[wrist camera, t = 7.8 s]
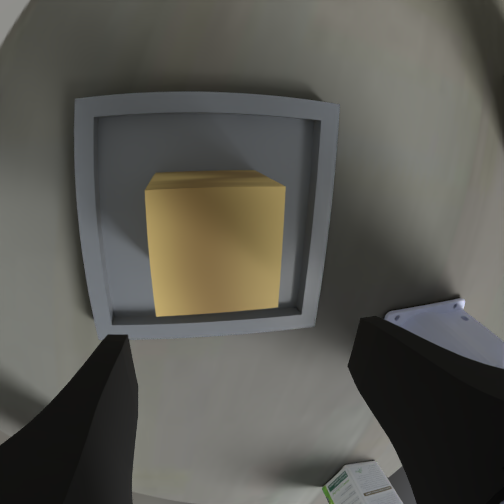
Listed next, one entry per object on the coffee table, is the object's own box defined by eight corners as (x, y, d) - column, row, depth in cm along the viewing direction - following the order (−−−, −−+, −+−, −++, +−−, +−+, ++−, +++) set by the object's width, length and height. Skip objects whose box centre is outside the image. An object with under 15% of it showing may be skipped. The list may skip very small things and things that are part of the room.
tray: (327, 105, 16) (339, 104, 15) (306, 314, 21) (314, 326, 19) (83, 101, 13) (74, 98, 12) (103, 325, 18) (98, 339, 17)
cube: (254, 170, 16) (285, 186, 12) (252, 261, 18) (277, 307, 13) (155, 172, 15) (144, 190, 10) (160, 266, 17) (156, 316, 12)
